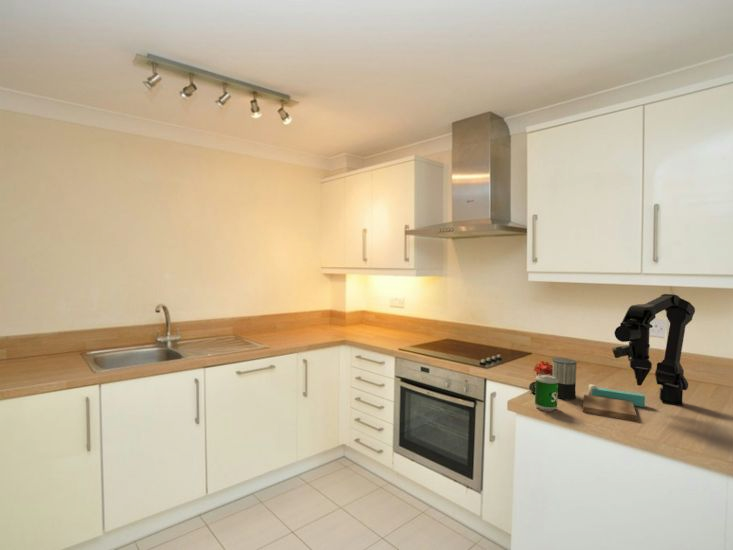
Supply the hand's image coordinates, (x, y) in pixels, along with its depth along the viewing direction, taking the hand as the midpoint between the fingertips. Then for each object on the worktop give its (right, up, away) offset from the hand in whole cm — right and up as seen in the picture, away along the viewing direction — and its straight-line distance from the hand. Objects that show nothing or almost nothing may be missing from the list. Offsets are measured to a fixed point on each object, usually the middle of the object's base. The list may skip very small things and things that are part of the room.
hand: (638, 382), depth 146 cm
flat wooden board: (-11, -10, 0) cm, 15 cm away
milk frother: (-24, -10, +16) cm, 31 cm away
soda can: (-34, -10, 0) cm, 35 cm away
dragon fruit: (-16, -9, +41) cm, 45 cm away
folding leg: (-3, -10, +8) cm, 13 cm away
